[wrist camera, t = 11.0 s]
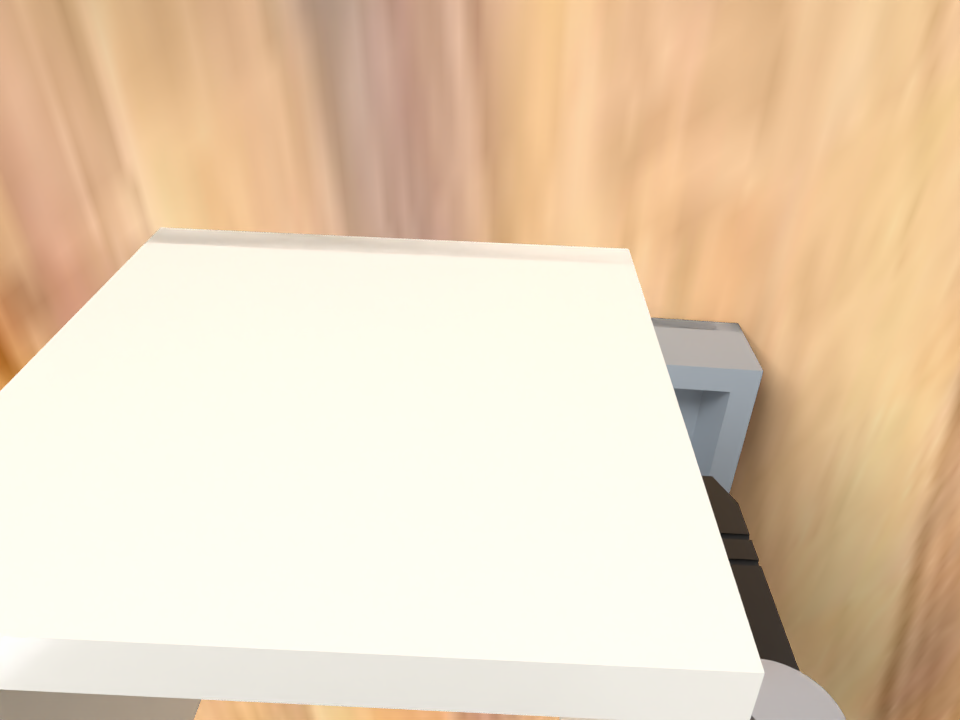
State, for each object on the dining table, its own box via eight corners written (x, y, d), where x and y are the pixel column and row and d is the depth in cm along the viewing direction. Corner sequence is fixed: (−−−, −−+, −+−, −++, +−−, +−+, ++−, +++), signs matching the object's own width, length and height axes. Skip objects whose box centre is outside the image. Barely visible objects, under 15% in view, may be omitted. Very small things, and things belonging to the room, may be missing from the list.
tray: (738, 323, 27) (763, 371, 24) (663, 622, 34) (676, 684, 32) (123, 282, 27) (83, 326, 24) (177, 593, 34) (150, 652, 31)
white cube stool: (628, 248, 11) (765, 673, 5) (582, 587, 14) (633, 1085, 8) (160, 227, 11) (-230, 624, 5) (218, 569, 14) (17, 1055, 8)
